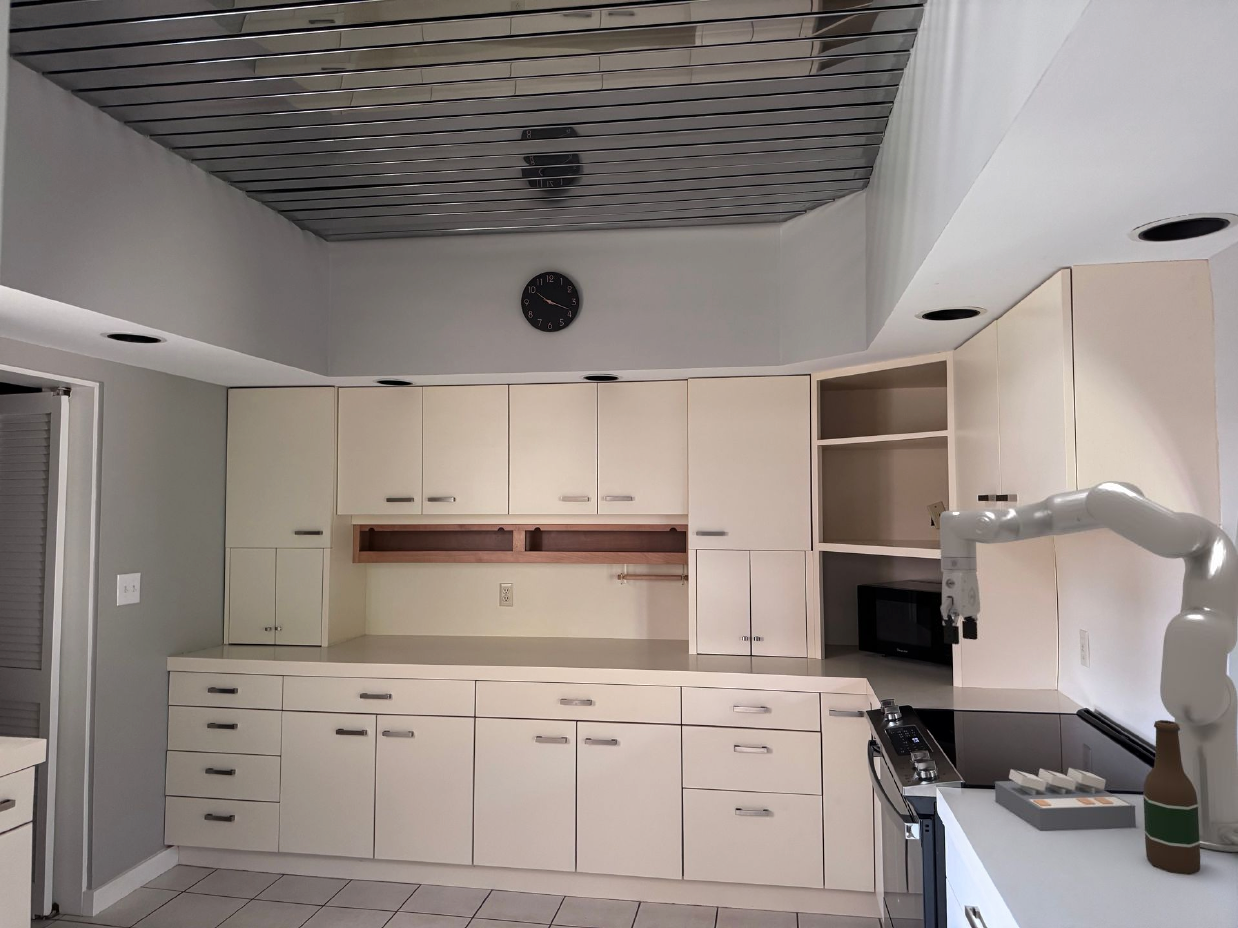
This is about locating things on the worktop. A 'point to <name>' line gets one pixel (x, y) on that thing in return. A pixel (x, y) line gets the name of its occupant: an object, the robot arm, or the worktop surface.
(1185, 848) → the beer bottle
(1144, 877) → the worktop surface
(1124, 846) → the worktop surface
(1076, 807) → the switch unit
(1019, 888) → the worktop surface
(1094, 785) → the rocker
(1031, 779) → the rocker
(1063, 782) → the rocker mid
